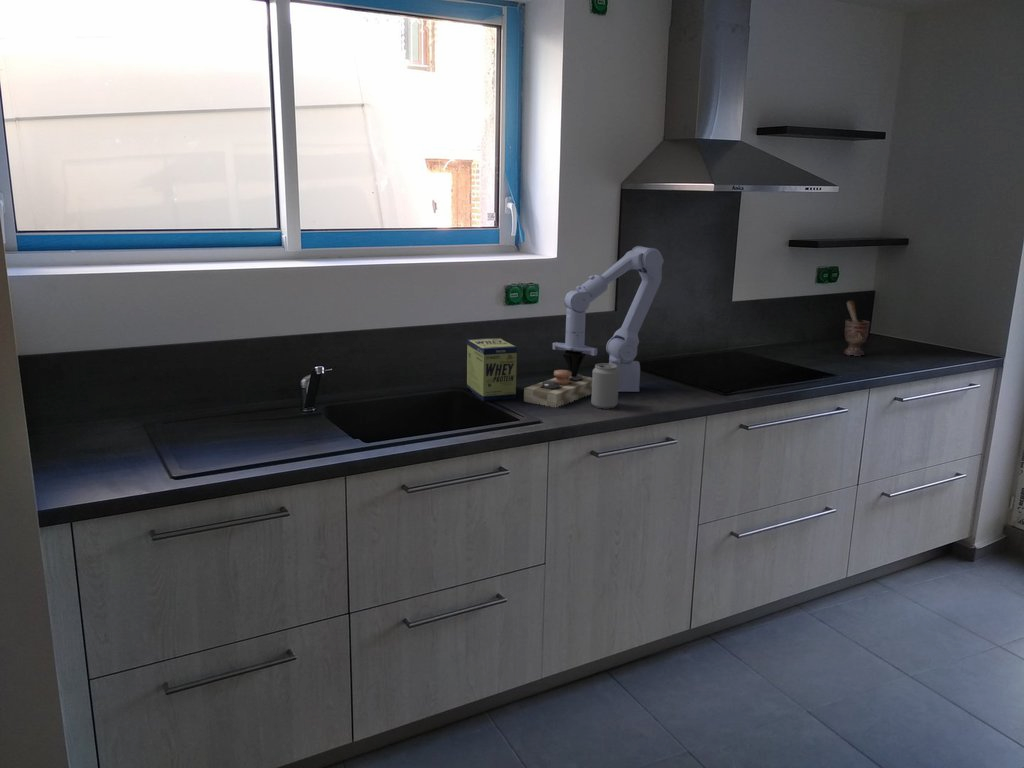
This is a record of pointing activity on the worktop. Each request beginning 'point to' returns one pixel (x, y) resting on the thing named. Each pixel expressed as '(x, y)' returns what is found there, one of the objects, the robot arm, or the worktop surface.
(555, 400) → the console
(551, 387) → the knob
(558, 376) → the knob middle
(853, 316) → the mortar and pestle
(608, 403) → the can
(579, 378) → the knob
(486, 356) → the protein box
